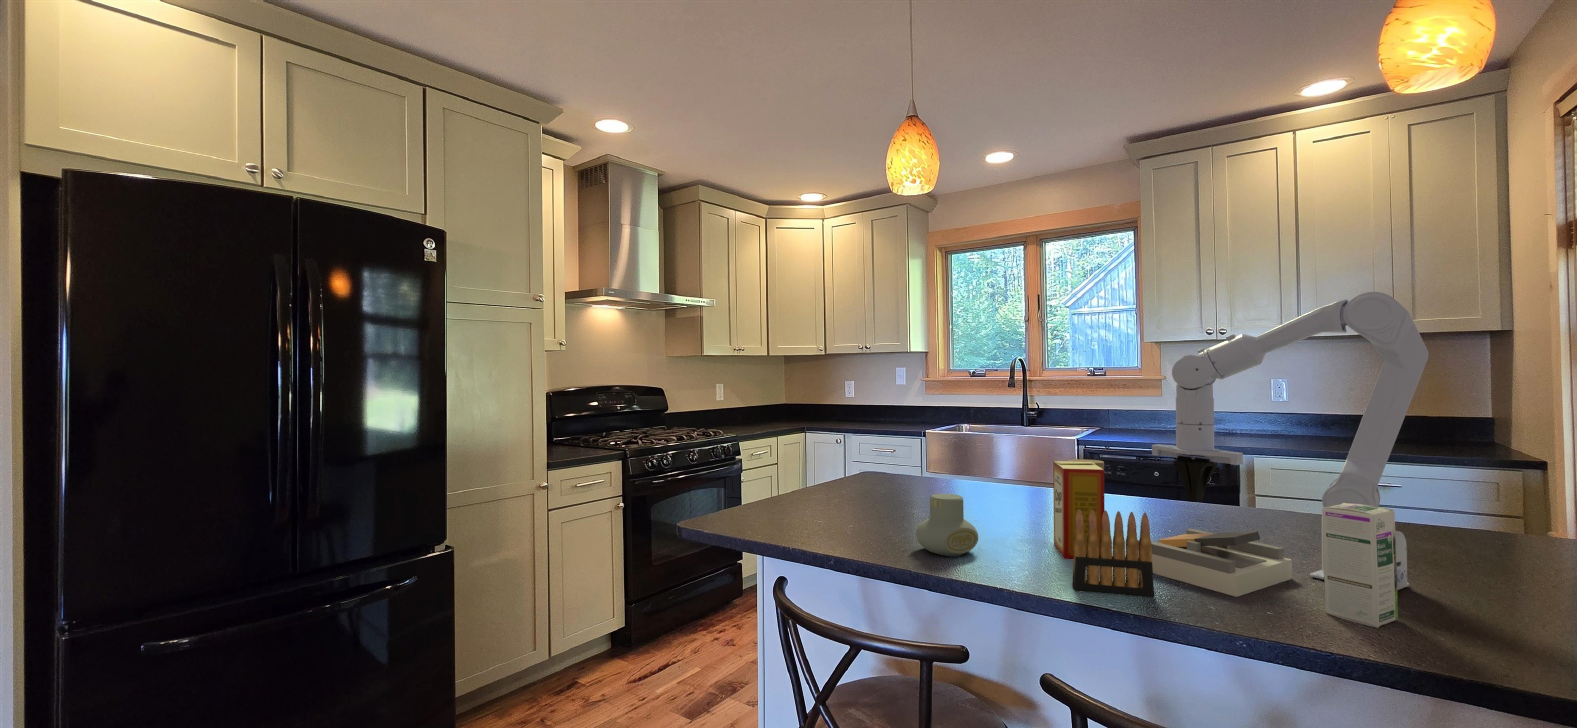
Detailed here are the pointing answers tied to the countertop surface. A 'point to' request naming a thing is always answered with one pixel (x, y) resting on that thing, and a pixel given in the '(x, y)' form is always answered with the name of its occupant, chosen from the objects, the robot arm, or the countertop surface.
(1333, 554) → the syrup box
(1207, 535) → the breaker rocker
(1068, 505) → the baking soda box
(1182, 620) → the countertop surface
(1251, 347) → the robot arm
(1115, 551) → the ammunition clip
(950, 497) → the air freshener
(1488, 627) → the countertop surface
